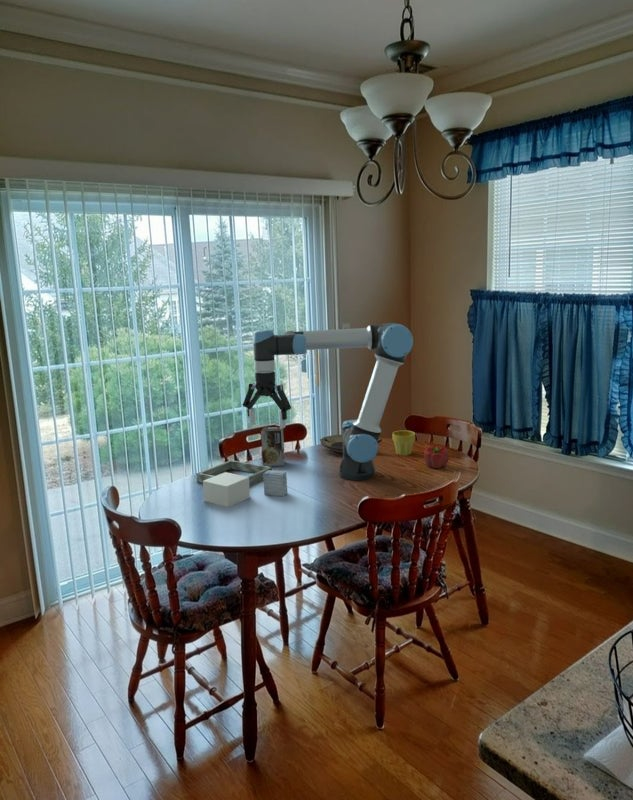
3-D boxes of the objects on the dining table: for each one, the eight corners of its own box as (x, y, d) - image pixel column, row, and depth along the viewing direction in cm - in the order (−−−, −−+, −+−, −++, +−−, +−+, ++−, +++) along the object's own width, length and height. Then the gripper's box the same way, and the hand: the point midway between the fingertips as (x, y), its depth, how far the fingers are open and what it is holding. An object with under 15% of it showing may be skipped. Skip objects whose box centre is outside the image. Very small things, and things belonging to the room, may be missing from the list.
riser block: (249, 497, 227) (248, 477, 226) (227, 507, 218) (226, 486, 216) (226, 491, 234) (225, 472, 233) (204, 501, 225) (202, 480, 223)
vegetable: (449, 471, 250) (449, 448, 248) (424, 471, 252) (424, 448, 250) (448, 464, 261) (448, 441, 259) (423, 463, 263) (423, 441, 261)
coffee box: (285, 461, 271) (283, 426, 268) (282, 466, 265) (281, 430, 261) (265, 461, 272) (263, 426, 269) (262, 466, 265) (260, 430, 262)
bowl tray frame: (272, 475, 252) (272, 467, 252) (239, 490, 235) (239, 482, 234) (231, 467, 264) (231, 460, 264) (197, 481, 247) (196, 473, 246)
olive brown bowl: (344, 441, 302) (343, 426, 301) (388, 453, 280) (388, 437, 278) (310, 450, 288) (309, 435, 286) (354, 463, 265) (353, 446, 264)
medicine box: (287, 493, 231) (286, 471, 229) (283, 497, 226) (282, 474, 225) (268, 491, 233) (267, 469, 231) (263, 495, 229) (262, 473, 227)
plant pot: (409, 457, 271) (409, 436, 269) (388, 454, 277) (388, 434, 275) (418, 452, 280) (418, 431, 278) (398, 449, 285) (398, 429, 284)
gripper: (298, 371, 224) (300, 427, 228) (243, 368, 235) (245, 421, 239) (288, 374, 217) (290, 431, 221) (231, 371, 229) (234, 425, 233)
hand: (267, 426), depth 230 cm, fingers open, 13 cm apart
